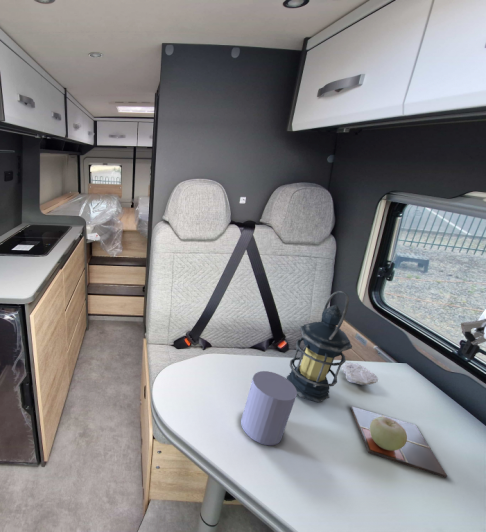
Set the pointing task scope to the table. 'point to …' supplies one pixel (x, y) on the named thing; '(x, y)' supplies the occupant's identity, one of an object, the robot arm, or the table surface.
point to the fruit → (388, 433)
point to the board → (410, 454)
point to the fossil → (358, 374)
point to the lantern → (320, 353)
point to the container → (268, 407)
